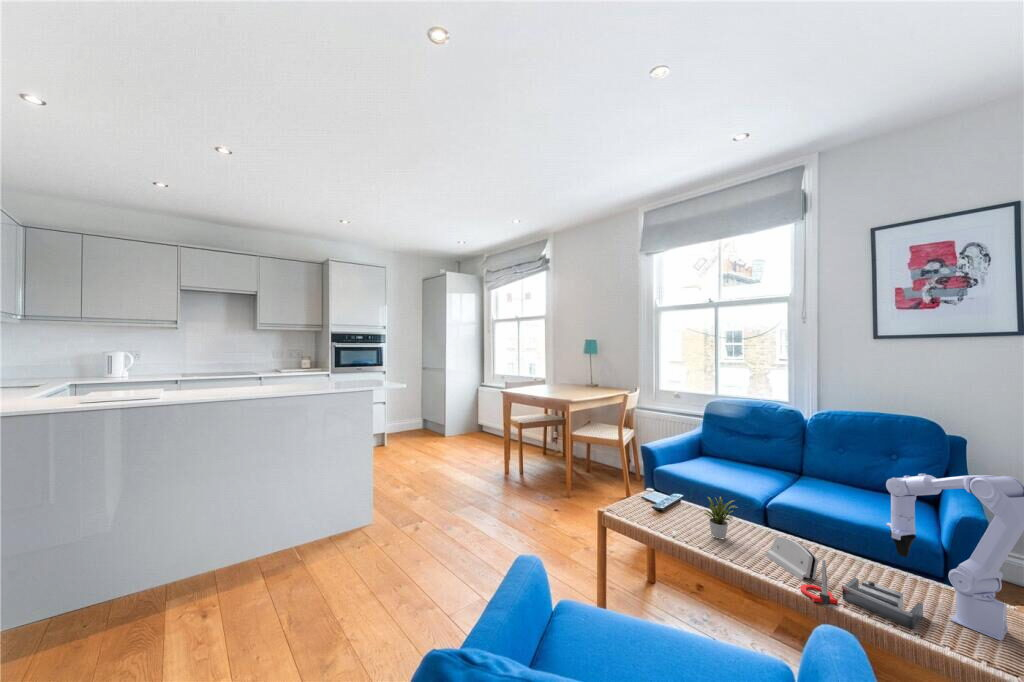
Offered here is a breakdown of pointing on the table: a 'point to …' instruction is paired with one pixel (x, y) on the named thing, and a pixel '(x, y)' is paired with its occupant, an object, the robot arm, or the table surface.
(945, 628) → the table surface
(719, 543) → the table surface
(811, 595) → the red handled scissors
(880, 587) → the block
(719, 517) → the house plant
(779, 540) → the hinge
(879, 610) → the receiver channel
